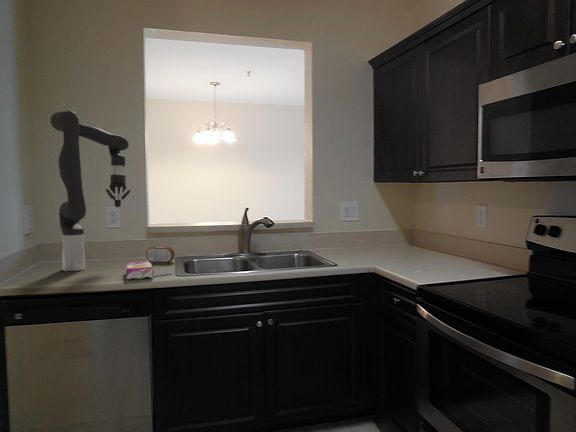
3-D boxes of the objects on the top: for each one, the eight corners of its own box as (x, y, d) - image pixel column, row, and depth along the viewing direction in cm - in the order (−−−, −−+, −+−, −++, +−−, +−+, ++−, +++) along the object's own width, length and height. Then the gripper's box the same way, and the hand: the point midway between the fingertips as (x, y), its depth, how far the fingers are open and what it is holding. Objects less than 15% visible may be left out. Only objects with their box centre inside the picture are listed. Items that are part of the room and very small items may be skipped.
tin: (174, 262, 223) (174, 246, 223) (172, 263, 220) (172, 247, 219) (147, 261, 225) (147, 245, 224) (145, 262, 222) (145, 246, 221)
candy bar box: (150, 260, 199) (153, 266, 184) (150, 270, 199) (153, 278, 184) (125, 261, 194) (126, 268, 179) (125, 272, 195) (126, 279, 180)
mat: (135, 279, 182) (135, 278, 182) (128, 275, 189) (128, 275, 189) (172, 274, 193) (172, 273, 193) (163, 270, 200) (163, 270, 200)
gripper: (106, 173, 215) (106, 206, 215) (132, 175, 223) (132, 207, 223) (103, 174, 221) (102, 207, 221) (128, 176, 229) (128, 207, 229)
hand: (117, 207), depth 222 cm, fingers closed
